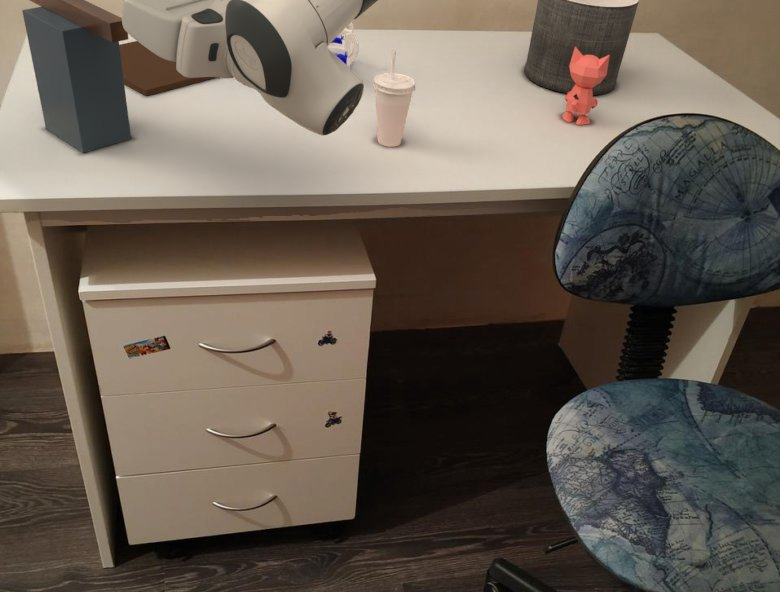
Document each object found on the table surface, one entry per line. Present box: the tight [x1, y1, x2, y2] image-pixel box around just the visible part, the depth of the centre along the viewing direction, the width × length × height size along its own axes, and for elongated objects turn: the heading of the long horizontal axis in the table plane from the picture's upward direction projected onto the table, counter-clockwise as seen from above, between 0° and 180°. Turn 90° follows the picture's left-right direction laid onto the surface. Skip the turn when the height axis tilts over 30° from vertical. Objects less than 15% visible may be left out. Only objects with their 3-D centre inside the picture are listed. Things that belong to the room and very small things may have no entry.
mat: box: [119, 40, 218, 97], centre depth 141 cm, size 18×20×1 cm
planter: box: [523, 0, 640, 96], centre depth 151 cm, size 18×18×16 cm
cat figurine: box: [561, 47, 610, 126], centre depth 136 cm, size 7×7×12 cm
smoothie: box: [372, 49, 416, 148], centre depth 122 cm, size 6×6×14 cm
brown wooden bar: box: [29, 0, 129, 43], centre depth 107 cm, size 2×20×2 cm, turn 48°
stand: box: [21, 6, 132, 154], centre depth 114 cm, size 8×10×17 cm
